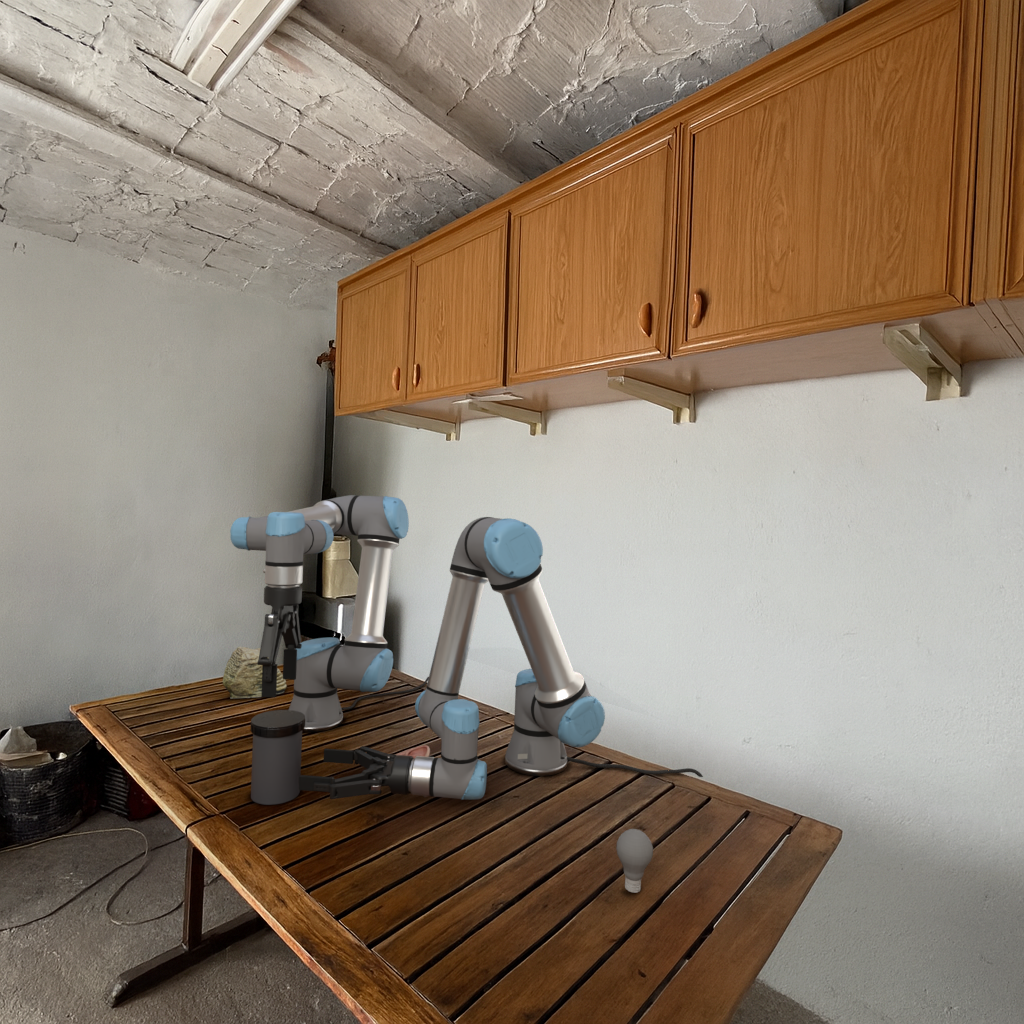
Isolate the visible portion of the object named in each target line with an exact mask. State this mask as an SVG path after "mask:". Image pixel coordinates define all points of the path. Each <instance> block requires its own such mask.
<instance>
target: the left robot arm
mask: <svg viewBox="0 0 1024 1024" xmlns="http://www.w3.org/2000/svg"><path fill="white" fill-rule="evenodd" d="M409 521H410V520H409V512H408V509H407V506H406V504H405V502H404V501H403V500H402V499H401V498H400V497H394V496H387V495H358V494H349V495H343V496H338V497H337V496H336V497H333V498H329V499H324V500H321V501H318V502H316V503H315V504H314V505H313V506H308V507H304V508H300V509H294V510H290V511H272V512H270V513H269V514H268V515H265V516H260V517H252V516H241V517H238V518H236V519H235V520H234V521H233V523H232V524H231V526H230V531H229V533H230V536H229V537H230V541H231V542H230V543H232V545H233V546H234V547H235V548H237V549H239V550H246V551H249V552H250V551H263V552H265V566H264V568H263V569H262V573H263V574H264V583H265V584H266V586H264V588H263V604H265V605H266V606H270V607H271V612H270V613H265V615H264V626H263V631H262V637H261V643H260V647H259V648H260V653H259V659H258V665H263V667H262V694H261V697H260V698H276V697H277V694H276V689H277V668H278V663H277V658H278V655H279V651H280V647H281V642H282V639H283V642H284V646H285V648H284V649H283V659H282V662H283V663H282V675H283V679H285V680H293V695H292V696H293V697H292V699H291V702H290V704H289V708H288V710H293V711H298V712H301V713H303V714H304V715H305V727H304V729H303V730H302V733H316V732H325V731H329V730H332V729H335V728H337V727H339V726H340V725H342V723H343V722H344V714H343V711H345V710H346V711H347V710H351V709H353V708H355V706H356V704H357V702H359V701H362V700H364V699H368V698H369V699H370V698H376V697H384V696H390V695H399V694H400V695H401V694H406V693H410V692H414V691H416V690H419V689H420V688H422V687H424V686H425V685H427V683H428V679H429V676H427V677H426V678H425V681H424V682H423V683H422V684H420V685H417V686H416V687H413V688H411V689H406V690H398V691H390V692H382V693H377V692H379V691H381V690H382V689H383V688H384V687H385V685H386V684H387V683H388V681H389V679H390V676H391V673H392V669H393V666H394V654H393V651H392V650H390V649H389V648H388V641H387V639H385V637H384V629H385V620H386V619H385V618H386V610H387V601H388V593H389V586H390V578H391V571H392V570H391V569H392V561H393V560H392V559H393V551H394V550H395V549H397V547H399V545H400V540H402V539H405V538H406V537H407V535H408V533H409V527H410V525H409V523H410V522H409ZM335 534H336V535H337V534H338V535H346V536H355V537H356V536H357V543H358V544H359V545H360V547H361V553H360V563H359V569H358V577H357V584H356V585H357V587H356V592H355V601H354V608H353V610H354V611H353V617H352V623H351V624H352V625H351V630H350V631H351V632H350V634H349V635H348V636H346V637H345V638H344V643H343V644H340V643H341V641H340V639H339V638H338V637H334V636H333V637H318V638H313V639H307V640H304V641H302V638H301V628H300V618H299V605H300V604H301V603H302V598H303V587H302V586H301V584H303V577H304V555H310V554H315V555H317V554H320V553H322V552H325V551H327V550H328V549H329V548H330V547H331V546H332V544H333V542H334V538H335V536H334V535H335ZM338 689H339V690H347V691H357V692H361V693H366V692H367V693H374V694H369V695H364V696H361V697H358V698H356V699H355V700H354V701H353V703H352V705H350V706H344V707H343V706H341V702H340V699H339V695H338ZM375 693H376V694H375Z"/></svg>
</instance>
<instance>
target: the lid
mask: <svg viewBox="0 0 1024 1024" xmlns="http://www.w3.org/2000/svg"><path fill="white" fill-rule="evenodd" d="M304 727H305V715H304V714H303V713H301V712H298V711H293V710H289V709H275V710H269V711H264V712H261V713H258V714H256V715H254V716H253V717H252V718H251V719H250V733H251V734H252V735H253V734H254V735H256V736H259V737H266V738H278V737H286V736H290V735H294V734H296V733H299V732H300V731H302V730H303V729H304Z"/></svg>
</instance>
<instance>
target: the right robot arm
mask: <svg viewBox="0 0 1024 1024" xmlns="http://www.w3.org/2000/svg"><path fill="white" fill-rule="evenodd" d="M543 555H544V548H543V542H542V539H541V537H540V535H539V534H538V532H537V531H536V530H535V528H534V527H532V526H531V525H530V524H528V523H526V522H524V521H522V520H521V521H520V520H518V519H516V518H510V517H509V518H508V517H507V518H500V517H498V518H497V517H492V516H482V517H478V518H476V519H474V520H472V521H470V523H468V524H467V525H466V526H465V527H464V528H463V530H462V532H461V533H460V535H459V537H458V540H457V542H456V545H455V548H454V551H453V554H452V558H451V563H450V567H449V572H450V574H451V576H452V577H451V581H450V585H449V586H450V587H449V590H448V595H447V599H446V603H445V607H444V612H443V615H442V619H441V624H440V629H439V633H438V637H437V641H436V645H435V650H434V653H433V658H432V662H431V666H430V671H429V675H428V677H429V679H428V681H427V683H426V687H425V689H424V690H423V691H422V692H421V693H420V694H419V695H418V696H417V698H416V700H415V703H414V710H415V714H416V716H417V717H418V719H419V720H420V721H421V723H423V725H425V726H426V727H428V728H429V730H431V731H432V732H433V733H434V734H435V735H436V736H437V737H438V738H439V739H440V740H441V748H440V749H441V750H440V757H434V756H429V757H424V756H417V757H415V759H414V758H413V757H412V756H405V755H396V754H392V753H386V752H383V751H381V750H377V749H374V748H371V747H367V746H364V745H363V746H360V747H359V749H355V750H351V749H339V748H324V749H323V763H330V764H331V763H333V764H345V765H346V764H347V765H354V766H357V765H358V766H361V767H363V768H364V769H363V770H362V772H361V773H357V774H356V773H355V774H352V775H348V776H344V777H339V778H335V777H334V776H321V775H305V774H300V776H299V790H300V791H305V792H306V791H307V792H321V793H329V799H330V800H338V799H344V798H352V797H353V798H354V797H358V796H366V795H381V794H382V787H388V788H389V789H390V793H391V794H393V795H404V796H408V795H409V794H411V795H412V796H420V797H423V798H427V797H433V798H447V799H457V800H461V801H463V800H466V801H467V800H468V801H469V800H472V801H473V800H481V799H483V797H484V796H485V793H486V789H487V779H488V764H487V762H486V761H484V760H481V759H479V757H478V748H479V747H478V746H479V745H478V744H479V729H480V724H481V723H480V710H479V706H478V703H476V702H475V701H472V700H469V699H464V698H459V695H460V690H461V685H462V681H463V677H464V673H465V670H466V664H467V662H468V656H469V653H470V648H471V644H472V641H473V637H474V636H473V635H474V632H475V627H476V622H477V618H478V614H479V609H480V606H481V601H482V598H483V593H484V589H485V585H486V584H487V583H488V582H489V585H490V587H491V590H492V591H494V592H496V593H498V594H501V596H502V598H503V601H504V604H505V606H506V609H507V611H508V614H509V616H510V618H511V621H512V624H513V626H514V628H515V631H516V633H517V636H518V638H519V642H520V643H521V647H522V648H523V651H524V653H525V656H526V658H527V661H528V663H529V666H530V668H526V669H522V670H520V671H519V672H518V673H517V674H516V680H515V685H514V687H515V692H514V696H515V697H514V716H513V717H514V720H513V723H514V724H513V731H512V734H511V737H510V740H509V742H508V745H507V748H506V751H505V755H504V756H505V757H504V763H505V765H506V766H507V767H508V768H509V769H511V770H512V771H514V772H516V773H519V774H522V775H527V776H533V777H547V776H554V775H558V774H560V773H562V772H564V771H565V770H566V769H567V767H568V762H570V763H571V762H572V763H576V764H581V765H585V766H588V767H592V768H599V769H622V770H627V771H633V772H635V773H641V774H644V775H668V774H683V773H692V774H695V775H696V776H697V777H699V778H703V777H704V776H703V774H702V773H701V772H700V771H699V770H697V769H694V768H689V767H687V768H679V769H678V768H677V769H658V770H652V769H651V770H650V769H643V768H638V767H635V766H630V765H627V764H617V763H616V764H615V763H596V762H590V761H586V760H583V759H578V758H574V757H570V756H568V754H567V750H566V746H565V745H567V746H569V747H571V748H583V747H587V746H589V745H590V744H591V743H592V742H594V741H595V740H596V739H597V737H598V736H599V735H600V733H601V732H602V727H603V726H604V724H605V719H606V711H605V708H604V705H603V704H602V702H601V701H600V700H599V699H598V698H597V697H595V696H593V695H591V694H590V693H591V692H590V691H589V688H588V686H587V684H586V681H585V678H584V675H582V674H581V673H580V672H578V671H574V668H573V666H572V663H571V661H570V660H571V659H570V658H569V655H568V653H567V651H566V647H565V645H564V643H563V639H562V636H561V634H560V631H559V629H558V627H557V624H556V621H555V618H554V616H553V613H552V611H551V607H550V605H549V603H548V600H547V598H546V594H545V593H544V590H543V587H542V585H541V581H540V577H541V575H542V573H543V567H542V564H541V563H542V557H543ZM668 770H669V771H668Z"/></svg>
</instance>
